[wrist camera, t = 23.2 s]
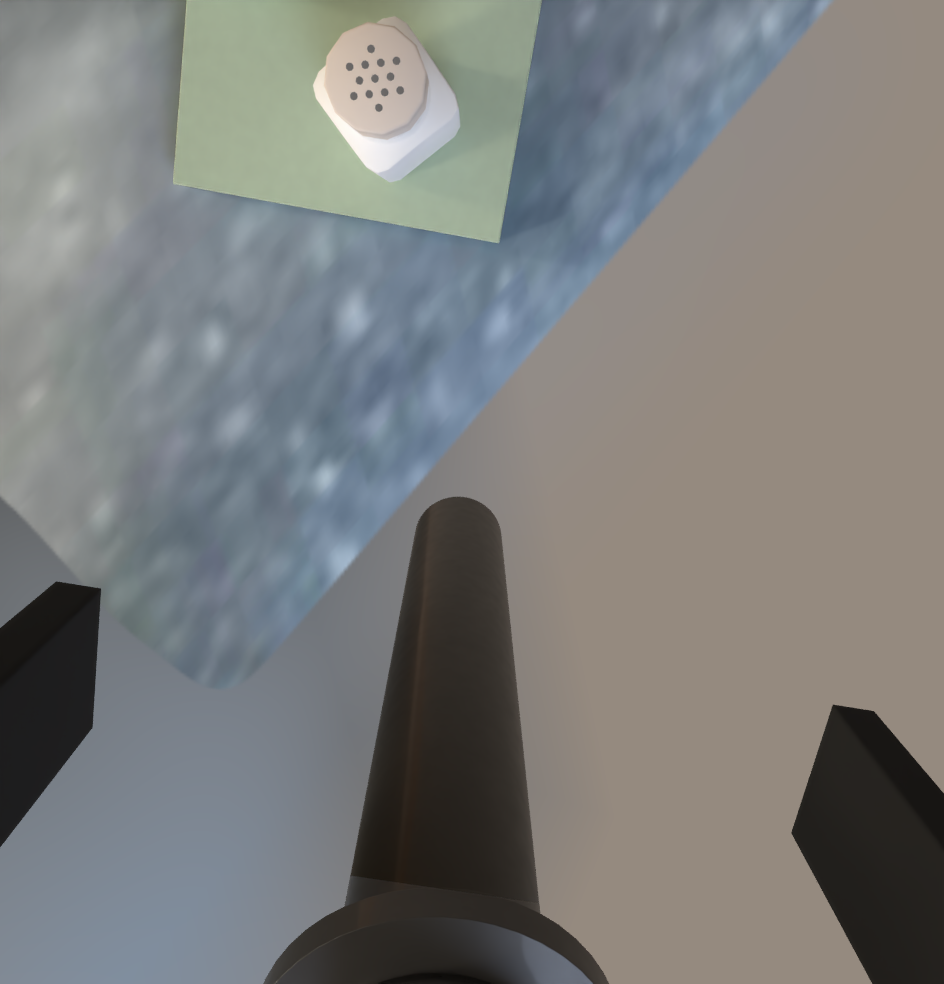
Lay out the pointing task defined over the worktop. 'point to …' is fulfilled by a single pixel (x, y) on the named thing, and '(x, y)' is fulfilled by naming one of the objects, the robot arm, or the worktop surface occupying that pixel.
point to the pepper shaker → (387, 97)
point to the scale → (311, 133)
